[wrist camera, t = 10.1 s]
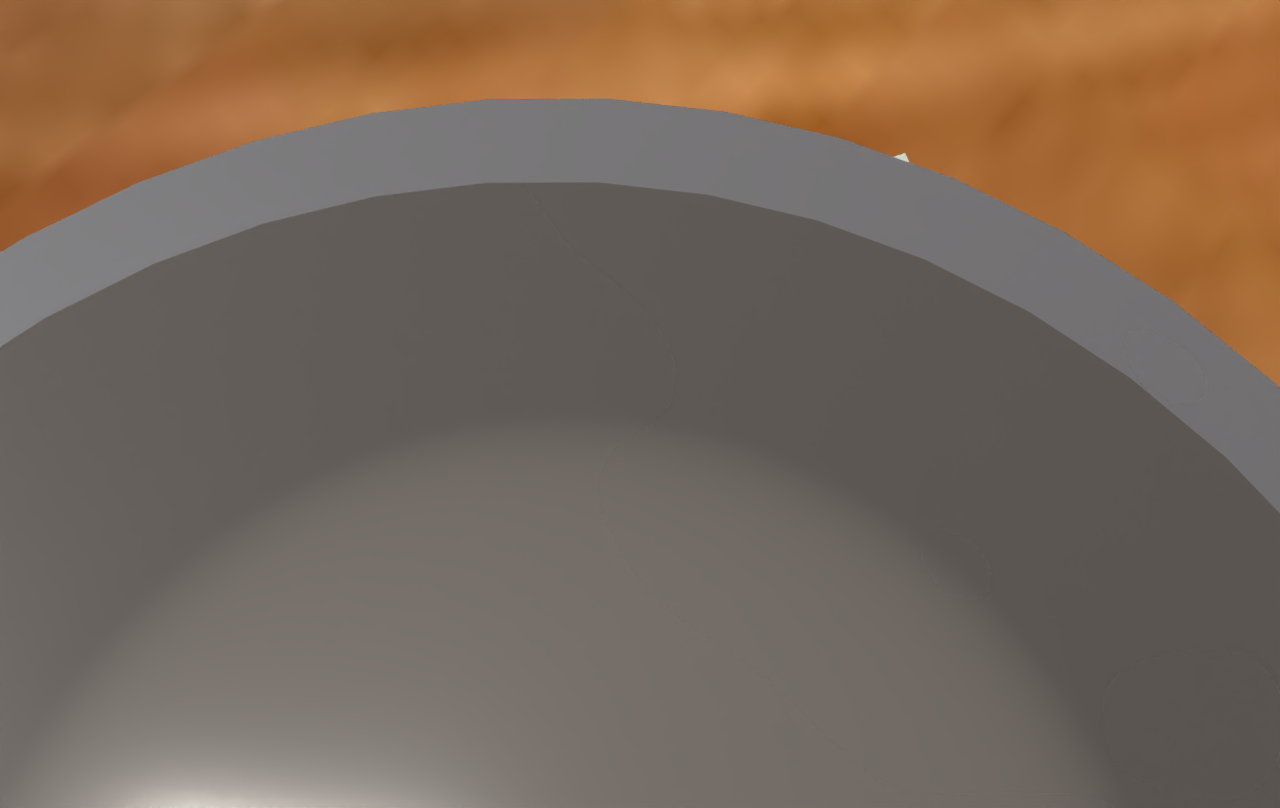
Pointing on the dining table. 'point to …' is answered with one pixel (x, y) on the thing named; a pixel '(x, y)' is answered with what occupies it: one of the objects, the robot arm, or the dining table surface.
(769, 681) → the brushed metal cylinder
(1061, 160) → the dining table surface
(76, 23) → the dining table surface
